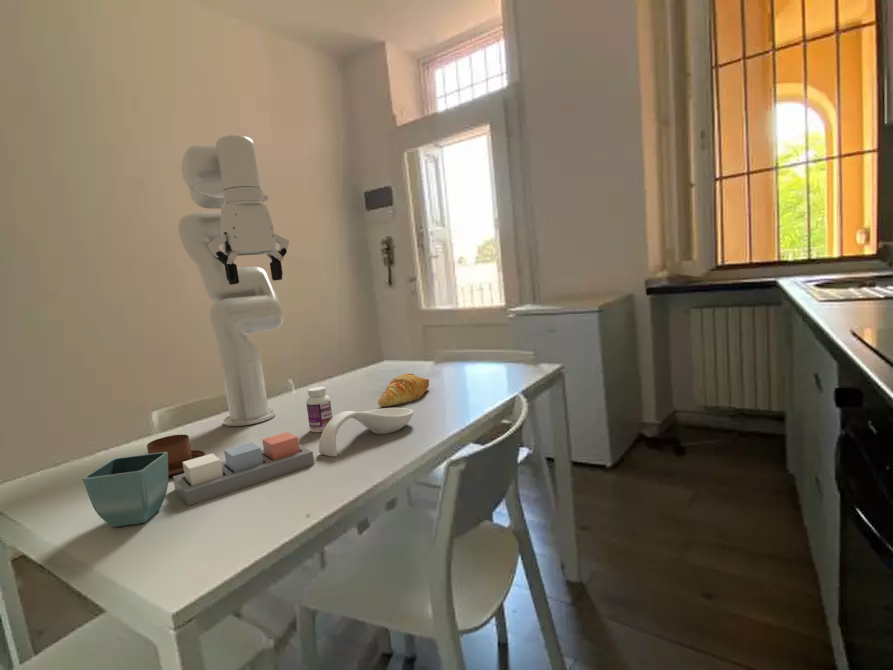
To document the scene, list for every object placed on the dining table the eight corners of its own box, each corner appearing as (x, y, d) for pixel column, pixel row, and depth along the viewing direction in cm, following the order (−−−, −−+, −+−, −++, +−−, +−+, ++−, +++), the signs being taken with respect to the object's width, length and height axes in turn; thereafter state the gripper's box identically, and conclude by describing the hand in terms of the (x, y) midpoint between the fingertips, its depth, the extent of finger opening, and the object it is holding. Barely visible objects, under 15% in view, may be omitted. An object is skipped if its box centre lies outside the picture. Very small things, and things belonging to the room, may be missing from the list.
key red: (264, 454, 100) (262, 439, 100) (289, 446, 103) (287, 432, 103) (274, 460, 96) (271, 444, 96) (299, 452, 99) (297, 437, 99)
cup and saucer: (143, 468, 107) (137, 439, 106) (207, 454, 111) (202, 426, 111) (134, 488, 96) (128, 456, 95) (205, 472, 100) (200, 441, 100)
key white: (185, 478, 92) (182, 461, 91) (215, 469, 95) (212, 453, 94) (192, 485, 88) (189, 468, 87) (223, 476, 91) (220, 459, 90)
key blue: (226, 465, 96) (224, 450, 96) (254, 457, 99) (251, 442, 99) (234, 472, 92) (232, 456, 92) (263, 463, 95) (260, 447, 95)
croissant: (390, 423, 132) (399, 397, 129) (361, 403, 136) (368, 377, 133) (436, 399, 150) (444, 375, 147) (409, 382, 154) (416, 359, 151)
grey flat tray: (175, 489, 93) (172, 476, 93) (293, 452, 106) (291, 441, 106) (188, 505, 85) (185, 491, 85) (314, 463, 99) (312, 451, 98)
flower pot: (123, 509, 87) (112, 457, 85) (177, 502, 87) (168, 450, 86) (91, 536, 78) (80, 478, 77) (153, 528, 78) (142, 470, 77)
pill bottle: (327, 432, 118) (322, 390, 116) (306, 433, 119) (300, 392, 118) (337, 425, 123) (332, 385, 122) (316, 425, 124) (311, 386, 123)
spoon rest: (386, 419, 124) (383, 390, 123) (425, 424, 118) (422, 392, 117) (307, 454, 106) (302, 419, 105) (348, 461, 99) (343, 425, 98)
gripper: (272, 203, 117) (284, 280, 119) (193, 201, 105) (207, 287, 107) (290, 197, 112) (302, 277, 114) (209, 194, 100) (223, 284, 102)
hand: (256, 282), depth 110 cm, fingers open, 9 cm apart
